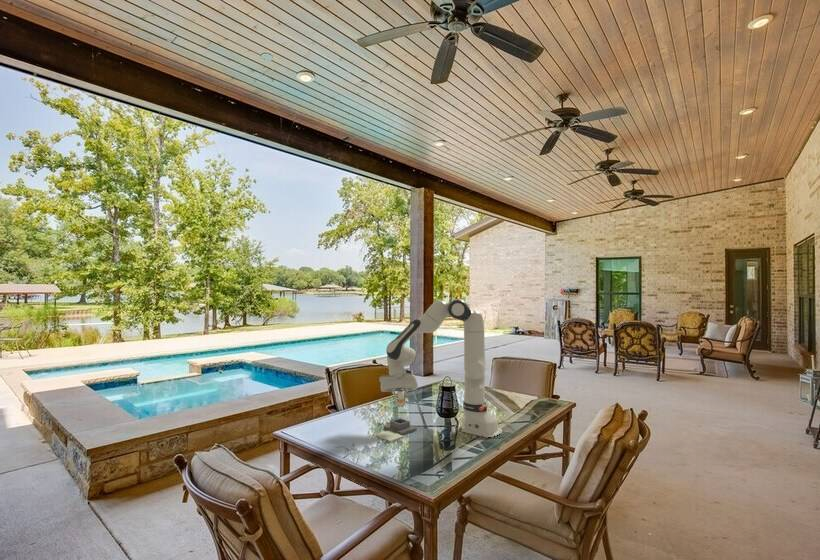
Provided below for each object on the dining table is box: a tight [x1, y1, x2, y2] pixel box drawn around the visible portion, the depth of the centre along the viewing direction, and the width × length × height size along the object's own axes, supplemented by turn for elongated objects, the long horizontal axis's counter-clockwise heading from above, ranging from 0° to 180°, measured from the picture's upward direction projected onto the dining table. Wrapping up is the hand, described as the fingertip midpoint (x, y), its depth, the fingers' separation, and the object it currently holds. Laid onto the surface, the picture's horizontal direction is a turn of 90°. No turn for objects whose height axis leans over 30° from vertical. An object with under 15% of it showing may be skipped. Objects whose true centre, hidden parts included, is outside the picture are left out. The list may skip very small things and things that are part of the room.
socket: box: [383, 417, 417, 436], centre depth 214 cm, size 14×11×4 cm
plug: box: [396, 388, 406, 408], centre depth 214 cm, size 4×4×9 cm
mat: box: [375, 430, 405, 443], centre depth 203 cm, size 11×9×1 cm
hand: (400, 397), depth 213 cm, fingers closed on plug, 4 cm apart
